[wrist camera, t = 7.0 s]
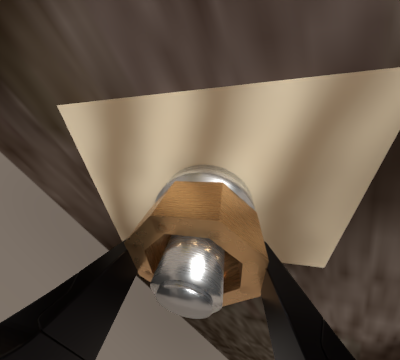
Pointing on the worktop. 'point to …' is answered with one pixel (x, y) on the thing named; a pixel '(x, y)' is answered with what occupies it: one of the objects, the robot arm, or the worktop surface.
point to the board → (249, 150)
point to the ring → (205, 234)
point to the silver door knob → (195, 256)
